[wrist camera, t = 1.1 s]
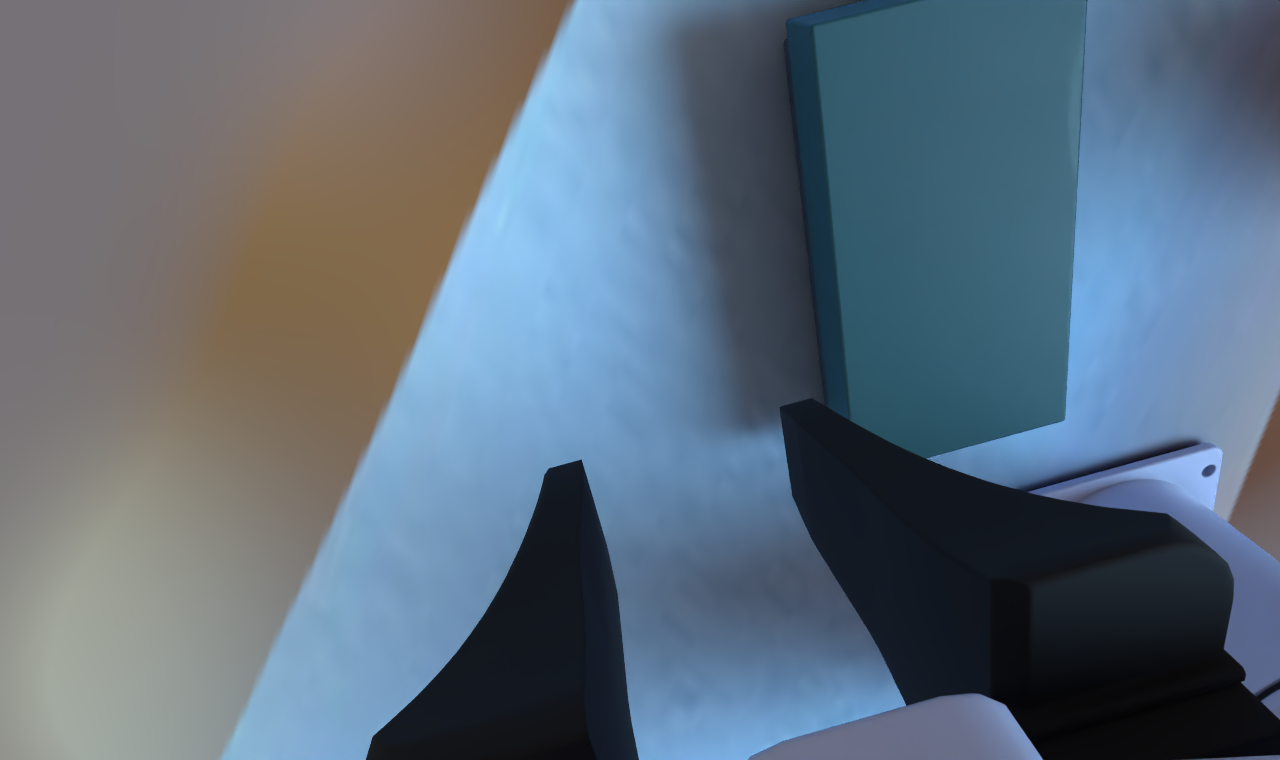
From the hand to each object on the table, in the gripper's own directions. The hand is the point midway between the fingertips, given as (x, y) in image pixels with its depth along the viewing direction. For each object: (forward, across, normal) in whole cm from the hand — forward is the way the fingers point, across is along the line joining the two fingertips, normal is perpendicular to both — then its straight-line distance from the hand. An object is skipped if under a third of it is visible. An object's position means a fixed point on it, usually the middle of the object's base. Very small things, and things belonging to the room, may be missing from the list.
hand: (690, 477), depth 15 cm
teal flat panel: (+9, -8, 0) cm, 13 cm away
